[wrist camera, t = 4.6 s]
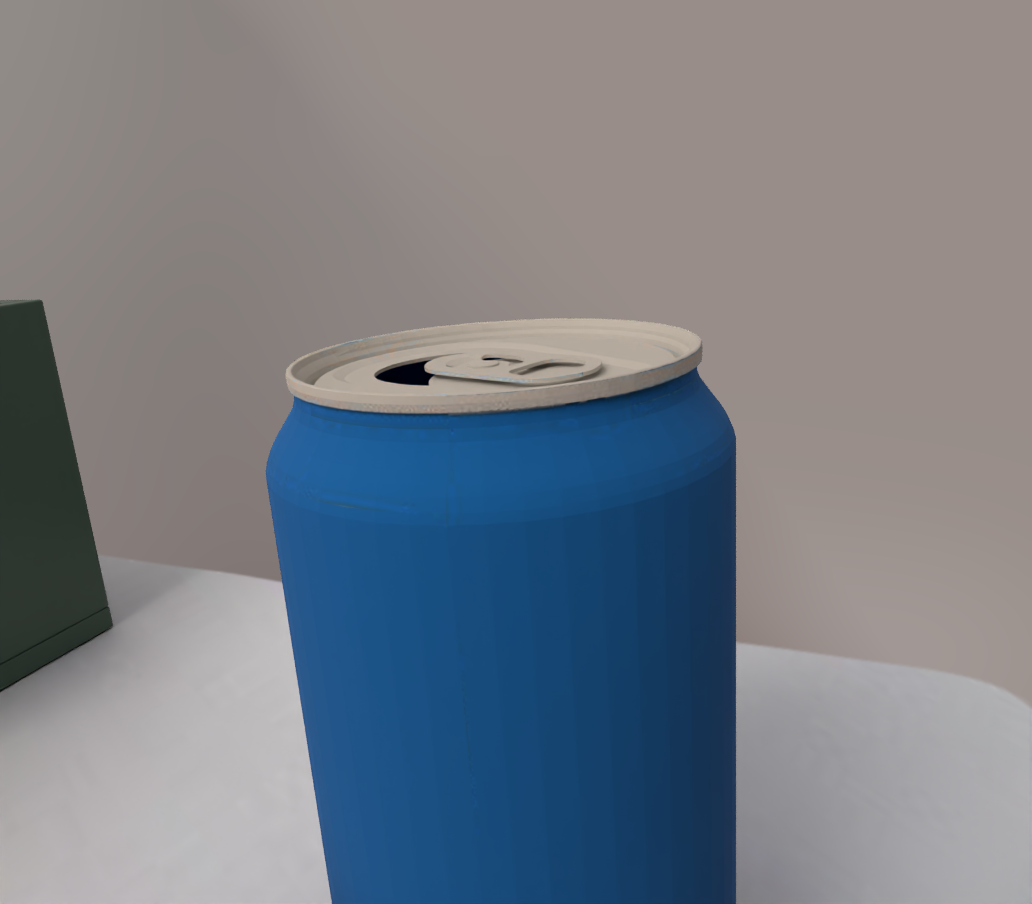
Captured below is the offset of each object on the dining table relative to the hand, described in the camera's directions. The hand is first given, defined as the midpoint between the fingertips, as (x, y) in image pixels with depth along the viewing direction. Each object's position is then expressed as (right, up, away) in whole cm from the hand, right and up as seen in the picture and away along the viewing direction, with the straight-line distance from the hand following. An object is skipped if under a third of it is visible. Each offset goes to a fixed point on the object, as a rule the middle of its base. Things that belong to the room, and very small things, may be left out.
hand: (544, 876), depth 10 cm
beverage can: (0, -5, +5) cm, 7 cm away
